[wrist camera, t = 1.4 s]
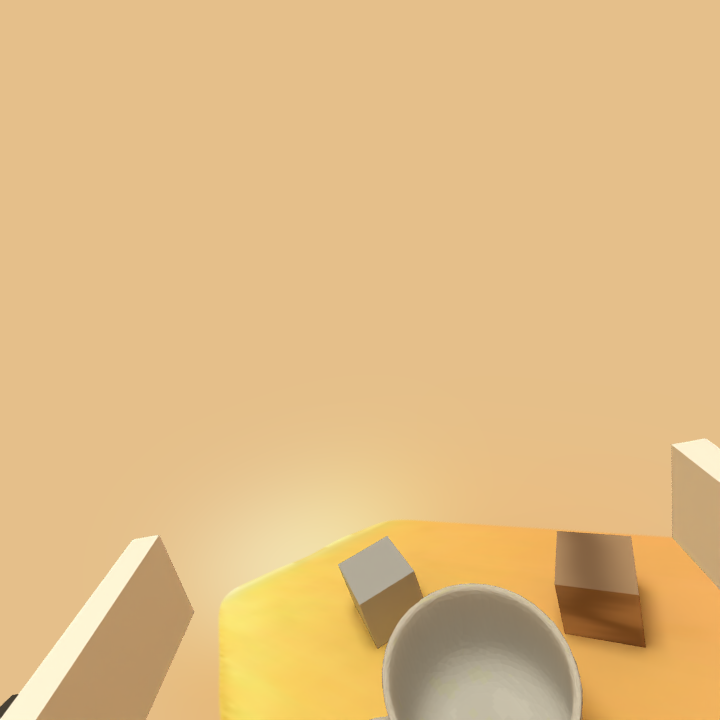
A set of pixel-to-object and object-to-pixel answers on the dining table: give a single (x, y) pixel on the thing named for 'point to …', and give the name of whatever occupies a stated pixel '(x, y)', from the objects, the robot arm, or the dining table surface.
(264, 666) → the dining table surface
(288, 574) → the dining table surface
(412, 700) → the teacup
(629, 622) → the walnut block
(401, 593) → the slate block
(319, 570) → the dining table surface
